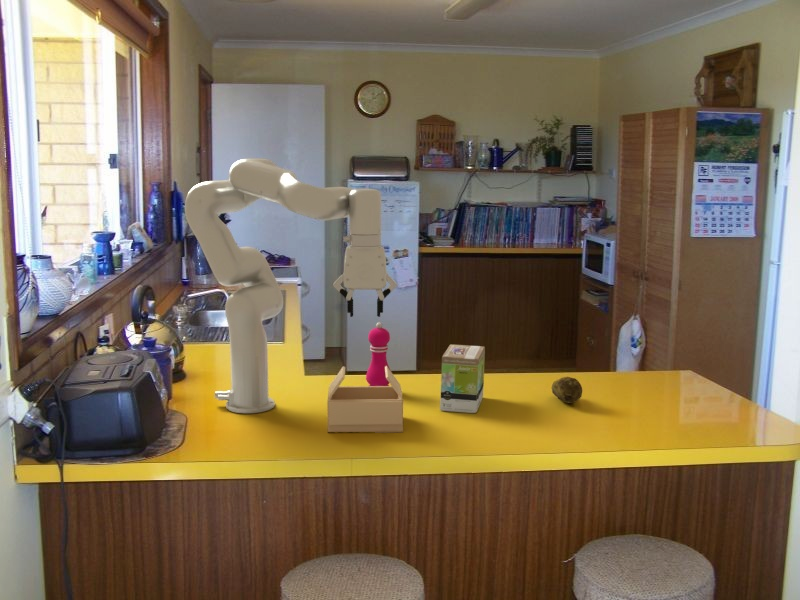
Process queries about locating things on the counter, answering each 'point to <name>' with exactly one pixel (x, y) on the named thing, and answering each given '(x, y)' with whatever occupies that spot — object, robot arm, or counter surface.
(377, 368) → the pepper mill
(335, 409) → the carton
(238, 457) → the counter surface
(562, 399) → the potato
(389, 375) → the right flap
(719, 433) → the counter surface
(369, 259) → the robot arm
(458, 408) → the tea box
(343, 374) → the left flap
